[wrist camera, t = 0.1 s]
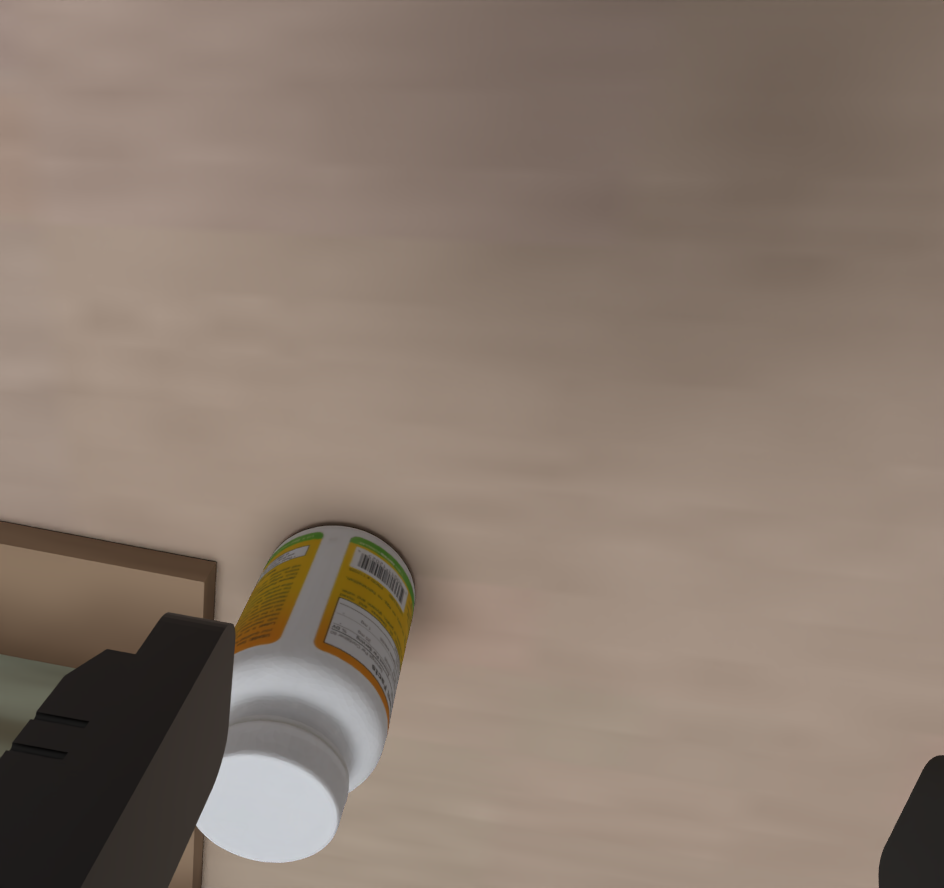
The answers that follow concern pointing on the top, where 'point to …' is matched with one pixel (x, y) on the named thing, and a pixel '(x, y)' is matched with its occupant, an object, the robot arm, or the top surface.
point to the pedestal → (86, 620)
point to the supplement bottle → (309, 692)
